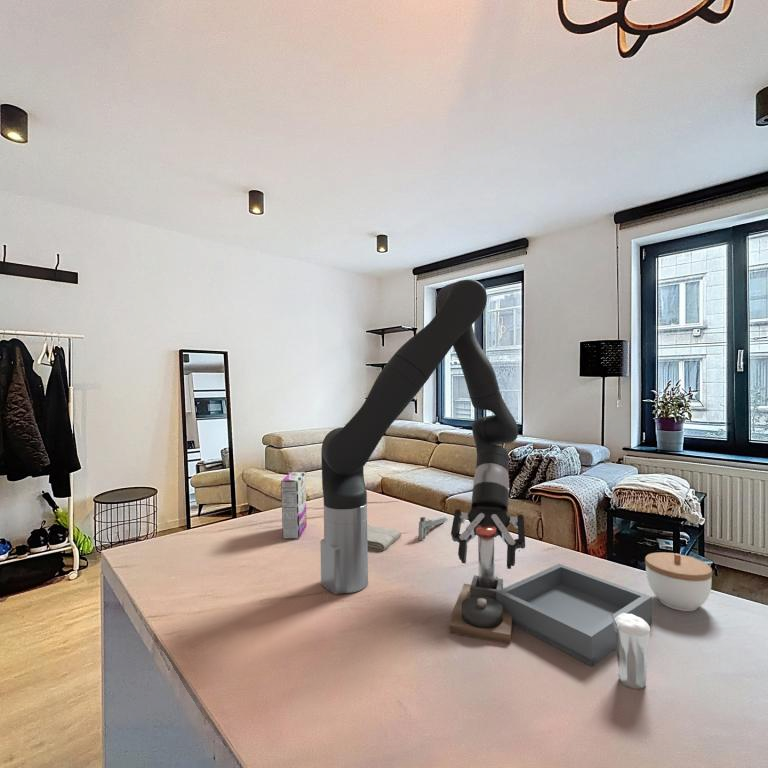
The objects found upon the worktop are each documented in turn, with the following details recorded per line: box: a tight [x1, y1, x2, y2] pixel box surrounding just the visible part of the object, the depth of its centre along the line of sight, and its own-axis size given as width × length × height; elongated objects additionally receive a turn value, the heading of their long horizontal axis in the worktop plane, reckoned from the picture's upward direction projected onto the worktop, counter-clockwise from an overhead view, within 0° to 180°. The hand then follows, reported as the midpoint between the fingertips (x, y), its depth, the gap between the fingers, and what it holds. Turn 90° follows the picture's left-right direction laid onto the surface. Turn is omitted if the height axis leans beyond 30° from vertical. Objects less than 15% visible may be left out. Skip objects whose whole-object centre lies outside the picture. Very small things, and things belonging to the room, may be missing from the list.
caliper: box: [418, 516, 448, 541], centre depth 129 cm, size 20×1×6 cm, turn 152°
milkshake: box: [610, 612, 651, 690], centre depth 63 cm, size 5×5×10 cm
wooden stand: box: [449, 574, 513, 644], centre depth 82 cm, size 16×10×4 cm, turn 161°
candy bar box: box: [280, 471, 307, 540], centre depth 128 cm, size 11×5×16 cm, turn 179°
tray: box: [496, 563, 653, 667], centre depth 80 cm, size 20×18×4 cm
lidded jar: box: [644, 551, 713, 612], centre depth 85 cm, size 11×11×9 cm
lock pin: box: [476, 525, 497, 589], centre depth 85 cm, size 4×4×13 cm
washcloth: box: [367, 524, 402, 552], centre depth 122 cm, size 12×18×3 cm, turn 64°
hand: (485, 564), depth 84 cm, fingers open, 8 cm apart
